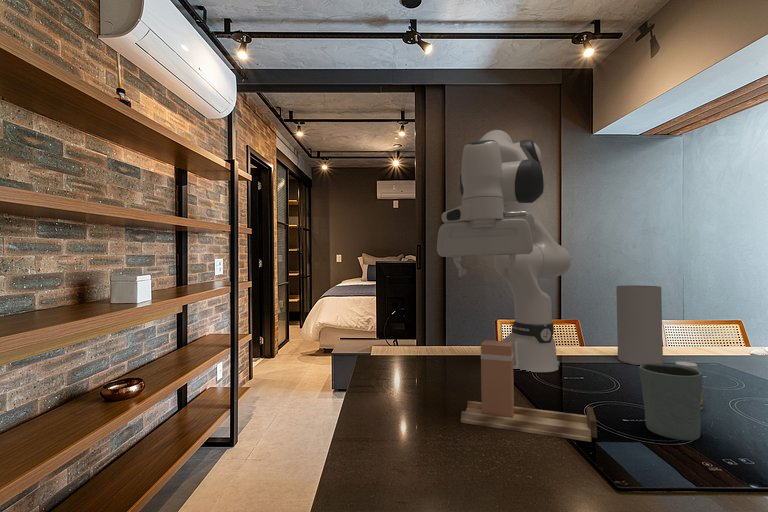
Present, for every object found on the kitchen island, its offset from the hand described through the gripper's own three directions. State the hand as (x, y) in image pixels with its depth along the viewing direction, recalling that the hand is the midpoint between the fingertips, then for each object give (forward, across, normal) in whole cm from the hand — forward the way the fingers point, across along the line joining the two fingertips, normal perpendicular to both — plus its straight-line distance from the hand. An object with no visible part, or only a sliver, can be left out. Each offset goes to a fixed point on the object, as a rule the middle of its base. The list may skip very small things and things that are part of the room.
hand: (484, 276), depth 85 cm
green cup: (+31, -34, -4) cm, 46 cm away
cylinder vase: (+30, -43, -64) cm, 83 cm away
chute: (+30, -7, +1) cm, 31 cm away
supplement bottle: (+31, -42, -20) cm, 56 cm away
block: (+29, -2, +1) cm, 29 cm away
